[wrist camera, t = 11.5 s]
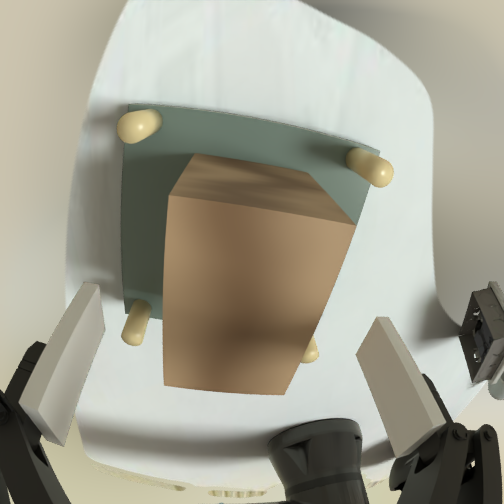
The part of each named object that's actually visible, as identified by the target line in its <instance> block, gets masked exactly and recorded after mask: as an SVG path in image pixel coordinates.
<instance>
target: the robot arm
mask: <svg viewBox="0 0 504 504" xmlns="http://www.w3.org/2000/svg"><path fill="white" fill-rule="evenodd" d="M104 332H105V324H104V317H103V311H102V304H101V296H100V288H99V284H93V283H88V282H84V283H83V284H82V286H81V288H80V289H79V291H78V292H77V294H76V295H75V297H74V299H73V300H72V302H71V303H70V305H69V307H68V308H67V310H66V312H65V313H64V315H63V317H62V318H61V320H60V322H59V324H58V325H57V327H56V329H55V331H54V332H53V334H52V336H51V338H50V339H49V341H48V343H47V344H44V343H41V342H38V341H36V342H35V343H34V344H33V345H32V346H30V347H29V348H28V350H27V351H26V353H25V355H24V356H23V359H22V361H21V362H20V364H19V366H18V369H16V371H15V373H14V375H13V377H12V379H11V381H10V383H9V385H8V387H7V389H6V391H5V393H3V392H2V391H1V390H0V504H10V499H9V495H8V490H9V492H10V495H11V497H12V499H13V502H14V504H71V503H70V501H69V499H68V497H67V496H66V494H65V492H64V490H63V489H62V486H61V485H60V483H59V481H58V479H57V477H56V475H55V473H54V471H53V469H52V467H51V465H50V462H49V460H48V458H47V456H46V454H45V451H44V449H43V447H42V445H41V443H40V438H41V435H43V436H44V438H45V439H46V440H47V441H50V442H52V443H55V444H58V445H61V446H64V445H65V442H66V438H67V435H68V431H69V428H70V425H71V422H72V418H73V415H74V412H75V409H76V406H77V403H78V400H79V397H80V394H81V392H82V389H83V386H84V383H85V380H86V378H87V375H88V372H89V370H90V367H91V364H92V362H93V359H94V357H95V354H96V352H97V349H98V347H99V344H100V342H101V339H102V337H103V335H104ZM356 357H357V359H358V361H359V364H360V366H361V368H362V371H363V373H364V376H365V378H366V381H367V383H368V386H369V388H370V391H371V393H372V396H373V398H374V401H375V403H376V406H377V408H378V411H379V414H380V416H381V419H382V421H383V424H384V427H385V429H386V432H387V435H388V438H389V440H390V443H391V446H392V449H393V451H394V454H395V457H396V458H399V457H402V456H406V455H409V454H410V453H412V452H413V451H414V450H415V449H417V450H418V453H417V454H416V455H415V456H413V457H412V458H411V459H409V460H408V461H407V462H406V464H405V465H408V464H410V463H411V462H412V461H413V463H412V464H411V465H410V466H409V467H411V469H410V472H409V475H408V477H407V480H406V483H405V485H404V488H403V490H402V493H401V495H400V498H399V500H398V502H397V504H502V476H501V463H500V454H499V445H498V438H497V433H496V431H495V430H494V428H493V427H492V426H490V425H488V424H484V425H483V426H481V427H480V428H479V429H478V430H477V431H474V430H467V429H466V428H465V426H464V425H462V424H460V423H454V422H453V421H452V419H451V417H450V415H449V413H448V411H447V409H446V407H445V405H444V403H443V401H442V399H441V398H440V395H439V394H438V392H437V391H436V388H435V386H434V384H433V382H432V381H431V380H430V379H429V378H428V377H427V376H426V375H425V374H421V372H420V370H419V369H418V367H417V365H416V363H415V361H414V360H413V358H412V356H411V354H410V353H409V351H408V349H407V347H406V346H405V344H404V342H403V341H402V339H401V337H400V335H399V334H398V332H397V330H396V329H395V327H394V325H393V324H392V322H391V320H390V319H389V317H376V319H375V321H374V322H373V324H372V326H371V328H370V330H369V332H368V334H367V335H366V337H365V339H364V341H363V342H362V344H361V346H360V348H359V349H358V351H357V353H356ZM361 452H362V433H361V430H360V427H359V424H358V423H357V422H355V421H352V420H348V419H331V420H323V421H317V422H313V423H308V424H305V425H301V426H298V427H295V428H292V429H290V430H287V431H285V432H283V433H281V434H279V435H277V436H276V437H274V438H273V439H272V440H271V441H270V442H269V444H268V453H269V459H270V461H271V463H272V465H273V467H274V469H275V471H276V473H277V475H278V476H279V478H280V480H281V482H282V484H283V486H284V489H285V496H286V501H281V502H267V503H251V504H369V501H368V497H367V493H366V490H365V486H364V483H363V479H362V475H361V471H360V463H361ZM474 460H475V466H474V467H472V468H471V469H470V465H469V464H470V463H472V462H473V461H474ZM7 488H8V490H7ZM219 504H224V503H219ZM249 504H250V503H249Z"/></svg>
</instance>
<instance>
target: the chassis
mask: <svg viewBox="0 0 504 504" xmlns="http://www.w3.org/2000/svg"><path fill="white" fill-rule="evenodd" d="M117 134H118V136H119V138H120V139H121V140H122V141H124V142H125V143H124V156H123V171H122V193H121V255H122V277H123V293H124V305H125V314H129V315H128V318H127V320H126V323H125V326H124V329H123V331H122V334H121V337H122V339H123V341H124V342H125V343H127V344H129V345H132V346H139V345H141V344H142V341H143V338H144V334H145V331H146V327H147V324H148V320H149V318H155V319H162V320H163V276H164V254H165V237H166V223H167V210H168V199H169V194H170V192H171V191H172V189H173V187H174V186H175V184H176V182H177V181H178V179H179V178H180V176H181V174H182V173H183V171H184V169H185V168H186V166H187V165H188V163H189V162H190V160H191V158H192V157H193V155H194V154H195V153H198V154H206V155H213V156H220V157H226V158H233V159H239V160H245V161H251V162H256V163H262V164H267V165H273V166H278V167H283V168H288V169H293V170H298V171H302V172H307V173H309V174H310V175H311V176H312V177H313V179H314V180H315V181H316V182H317V183H318V184H319V185H320V186H321V187H322V188H323V189H324V190H325V191H326V192H327V193H328V194H329V196H330V197H331V198H332V199H333V200H334V201H335V202H336V203H337V204H338V205H339V206H340V208H341V209H342V210H343V211H344V212H345V213H346V214H347V215H348V217H349V218H350V219H351V220H352V221H353V222H354V223H355V225H356V226H357V223H358V220H359V217H360V215H361V212H362V209H363V206H364V203H365V200H366V196H367V193H368V190H369V187H370V184H372V185H374V186H375V187H379V188H381V187H385V186H387V185H388V184H389V183H390V182H391V180H392V178H393V174H394V171H393V167H392V165H391V163H390V162H388V161H387V160H385V159H383V158H381V157H379V154H380V151H379V150H376V149H374V148H372V147H369V146H366V145H363V144H360V143H356V142H353V141H350V140H346V139H343V138H340V137H336V136H332V135H329V134H325V133H321V132H317V131H313V130H309V129H305V128H301V127H297V126H293V125H288V124H284V123H279V122H274V121H270V120H264V119H259V118H254V117H248V116H243V115H237V114H231V113H224V112H217V111H210V110H203V109H194V108H185V107H176V106H164V105H151V104H129V107H128V113H126V114H125V115H123V116H122V117H121V118H120V119H119V121H118V124H117ZM353 235H354V234H353ZM349 246H350V245H349ZM346 254H347V253H346ZM343 262H344V261H343ZM338 275H339V274H338ZM336 280H337V279H336ZM334 285H335V284H334ZM327 302H328V301H327ZM318 323H319V322H318ZM314 332H315V331H314ZM318 357H319V352H318V349H317V346H316V342H315V339H314V336H312V338H311V340H310V342H309V345H308V347H307V349H306V351H305V353H304V355H303V358H302V360H301V363H311V362H313V361H315V360H316V359H317V358H318Z"/></svg>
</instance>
